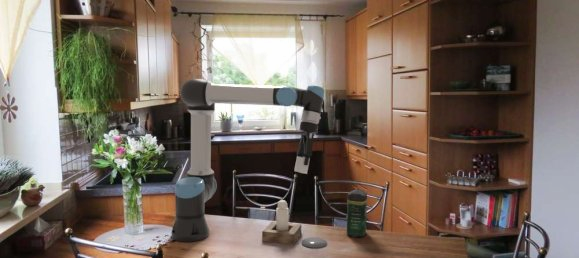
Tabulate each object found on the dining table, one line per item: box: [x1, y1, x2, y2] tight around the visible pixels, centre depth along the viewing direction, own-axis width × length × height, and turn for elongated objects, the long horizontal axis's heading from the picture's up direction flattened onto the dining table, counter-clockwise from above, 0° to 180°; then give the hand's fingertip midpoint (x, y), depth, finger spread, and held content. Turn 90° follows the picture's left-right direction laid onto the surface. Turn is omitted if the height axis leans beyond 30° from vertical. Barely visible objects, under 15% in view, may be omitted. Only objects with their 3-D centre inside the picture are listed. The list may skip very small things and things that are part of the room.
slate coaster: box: [301, 236, 328, 249], centre depth 163 cm, size 10×10×1 cm
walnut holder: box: [261, 221, 302, 245], centre depth 170 cm, size 13×13×4 cm
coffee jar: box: [346, 188, 368, 238], centre depth 174 cm, size 10×8×19 cm
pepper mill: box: [275, 199, 290, 231], centre depth 169 cm, size 5×5×16 cm
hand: (300, 172), depth 171 cm, fingers open, 13 cm apart
